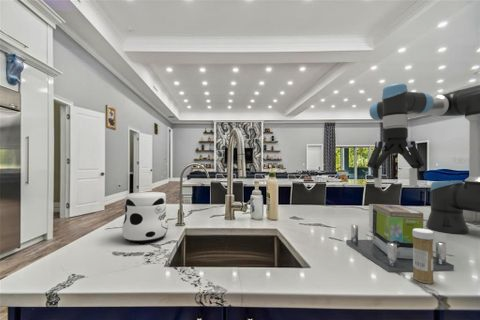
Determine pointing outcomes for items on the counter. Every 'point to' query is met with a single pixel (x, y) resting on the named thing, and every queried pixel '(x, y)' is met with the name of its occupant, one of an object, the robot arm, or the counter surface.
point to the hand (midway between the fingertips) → (395, 186)
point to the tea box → (395, 227)
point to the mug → (371, 218)
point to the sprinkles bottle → (423, 255)
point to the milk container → (145, 216)
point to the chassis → (395, 255)
